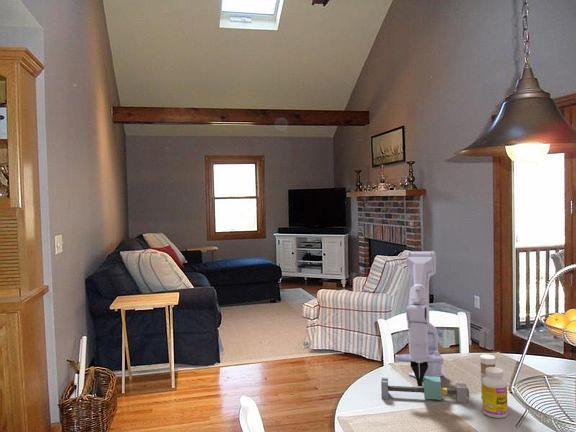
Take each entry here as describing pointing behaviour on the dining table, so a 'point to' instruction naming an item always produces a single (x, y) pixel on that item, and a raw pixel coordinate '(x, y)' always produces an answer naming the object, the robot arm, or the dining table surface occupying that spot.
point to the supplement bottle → (494, 393)
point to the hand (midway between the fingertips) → (419, 385)
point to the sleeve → (432, 387)
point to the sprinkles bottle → (486, 364)
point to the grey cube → (462, 393)
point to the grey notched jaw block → (384, 388)
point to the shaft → (419, 389)
